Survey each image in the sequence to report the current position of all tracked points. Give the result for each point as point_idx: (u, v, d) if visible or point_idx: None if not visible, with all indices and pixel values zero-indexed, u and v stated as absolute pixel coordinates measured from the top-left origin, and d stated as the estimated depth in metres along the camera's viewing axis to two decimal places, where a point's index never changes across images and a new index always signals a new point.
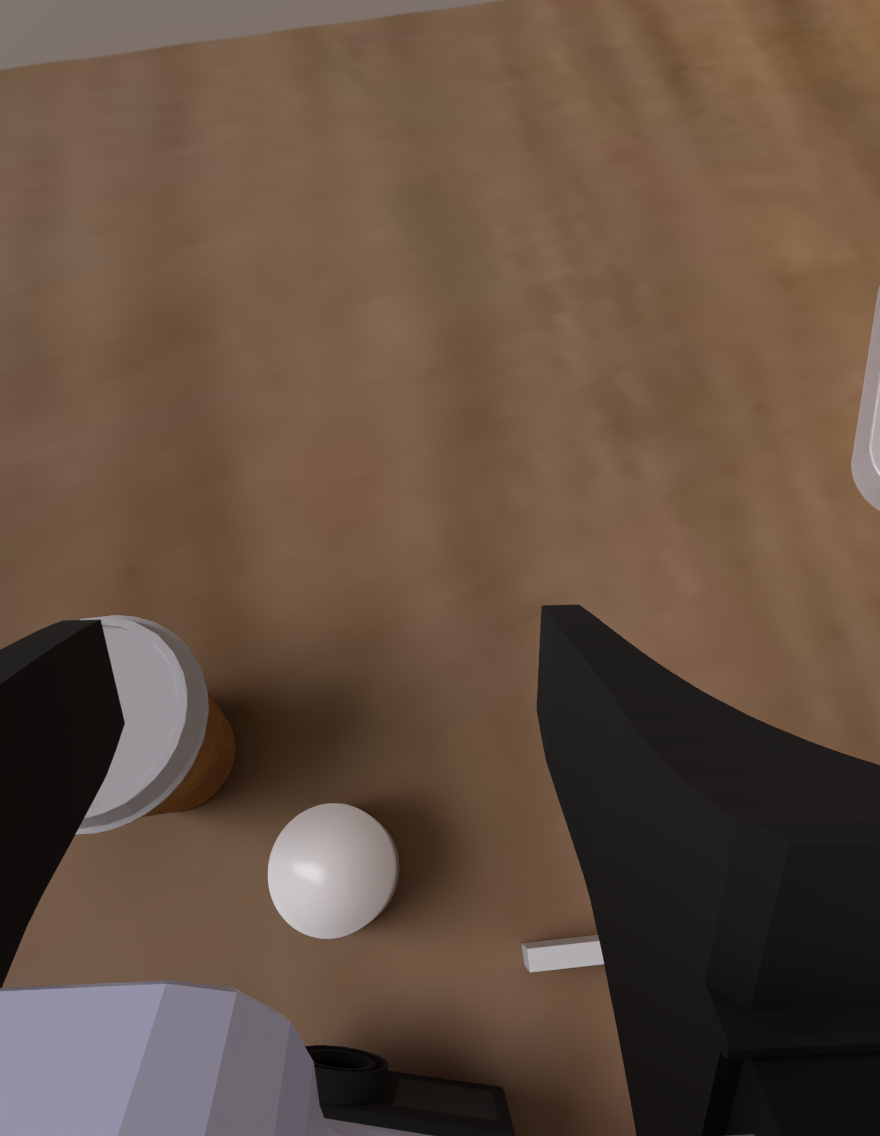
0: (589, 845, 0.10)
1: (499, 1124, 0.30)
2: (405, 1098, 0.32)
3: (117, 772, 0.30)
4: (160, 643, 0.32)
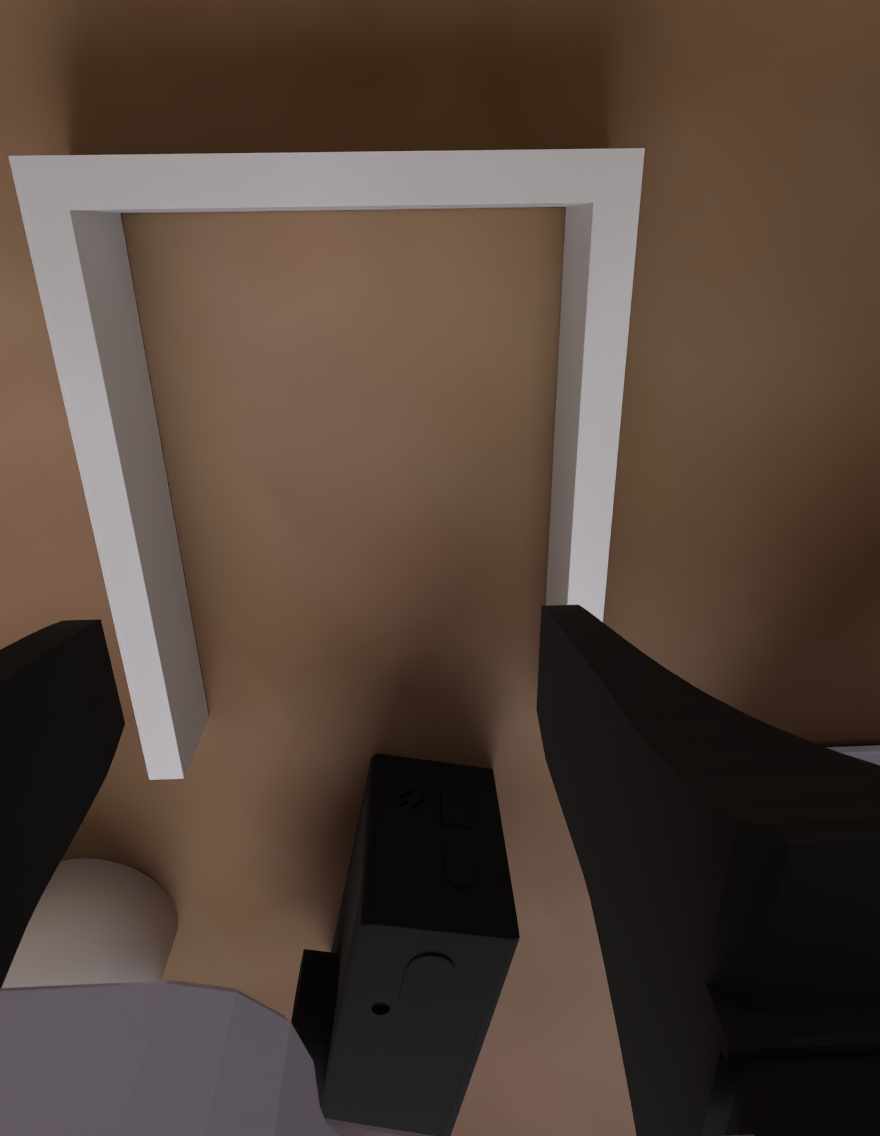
0: (589, 845, 0.10)
1: (359, 913, 0.20)
2: (342, 957, 0.23)
3: None
4: None
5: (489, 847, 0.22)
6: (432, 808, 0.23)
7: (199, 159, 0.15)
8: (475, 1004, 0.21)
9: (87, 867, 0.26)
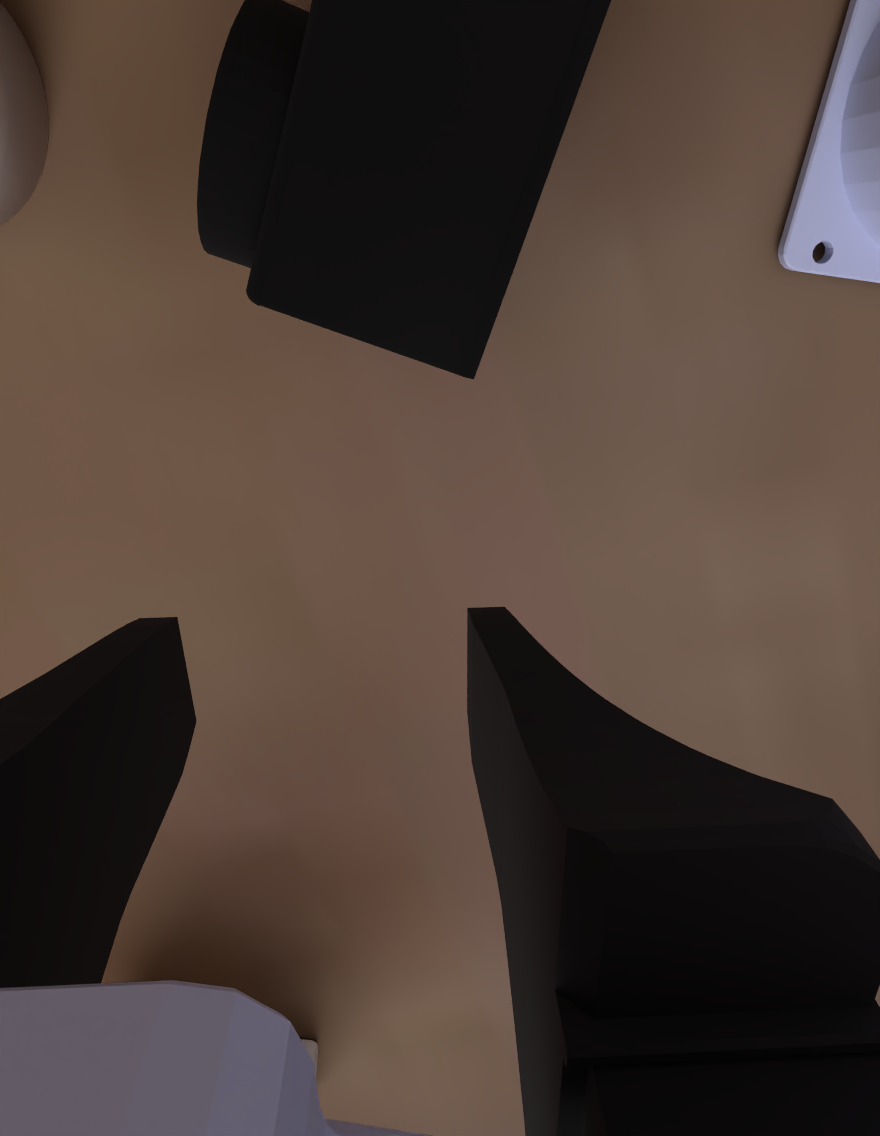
0: (499, 849, 0.10)
1: None
2: None
3: None
4: None
5: None
6: None
7: None
8: None
9: None
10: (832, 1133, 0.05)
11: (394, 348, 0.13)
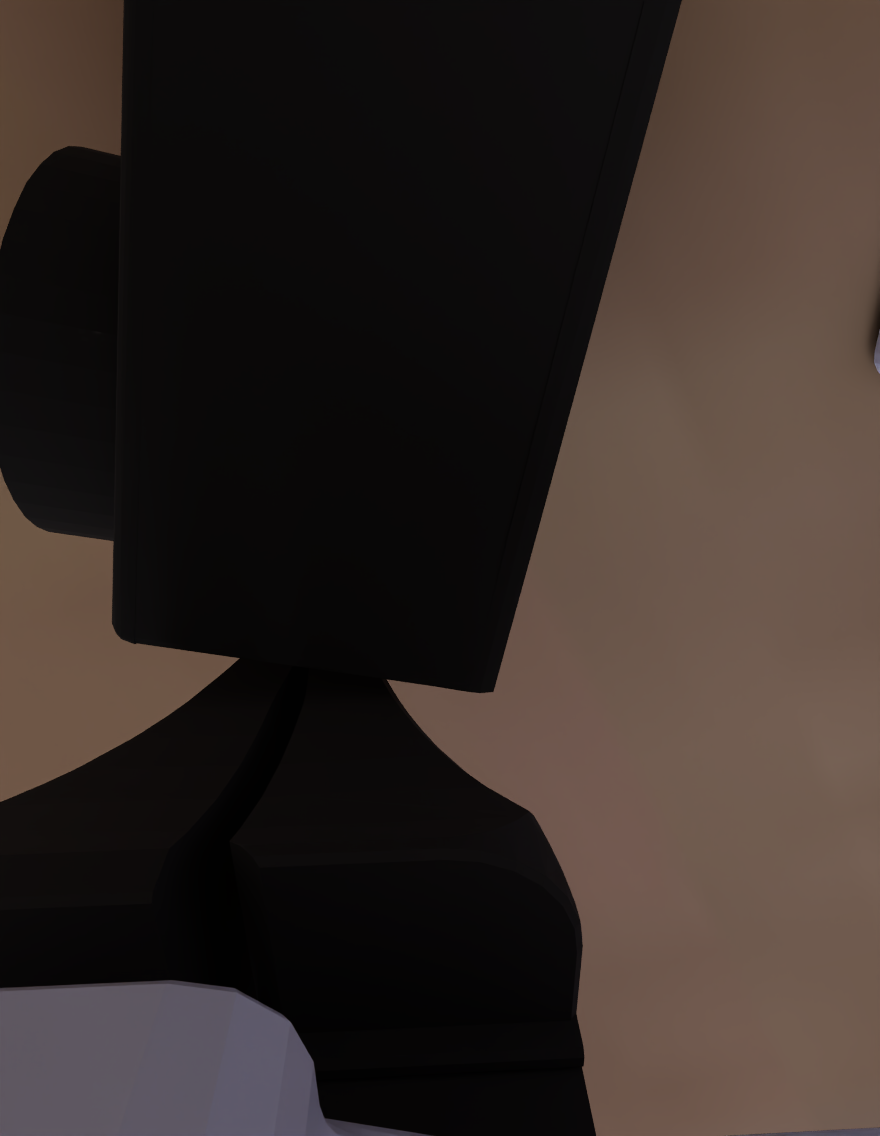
0: None
1: None
2: None
3: None
4: None
5: None
6: None
7: None
8: None
9: None
10: None
11: (360, 671, 0.08)
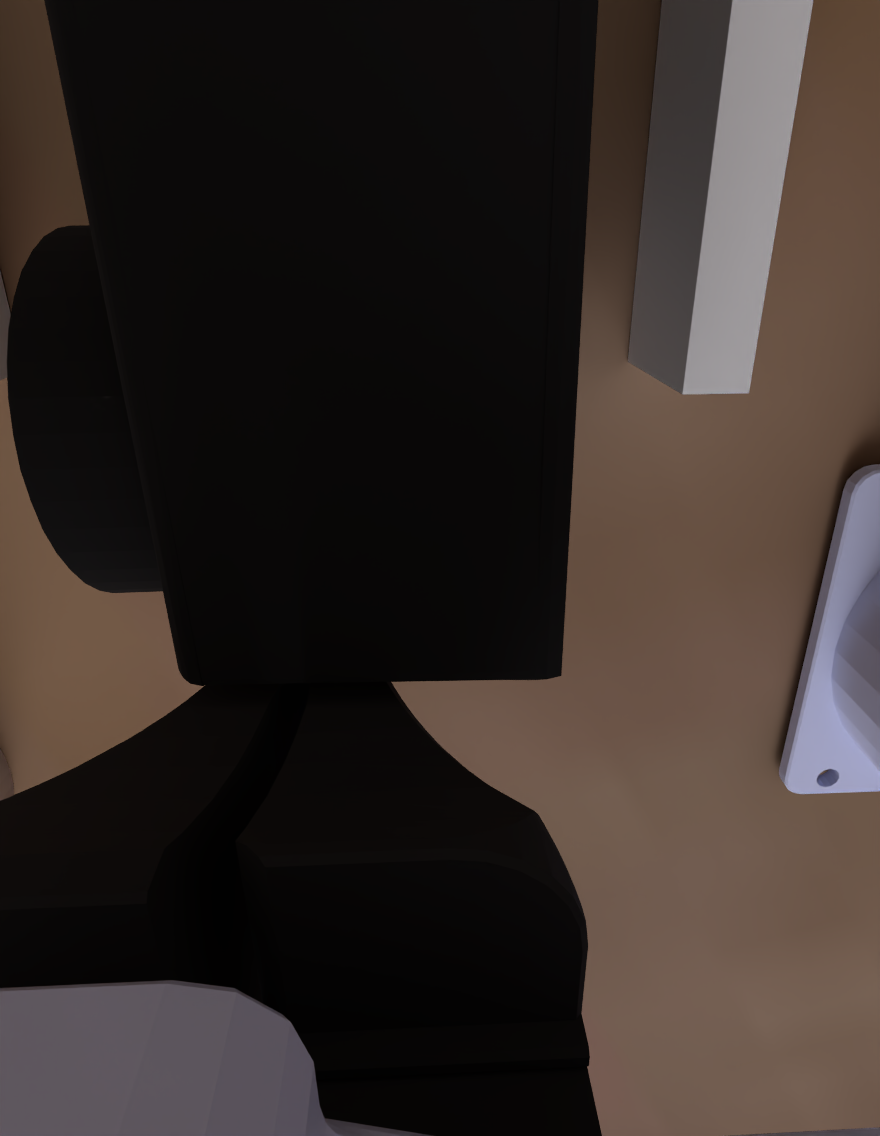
0: None
1: None
2: None
3: None
4: None
5: None
6: None
7: None
8: None
9: None
10: None
11: (422, 676, 0.08)
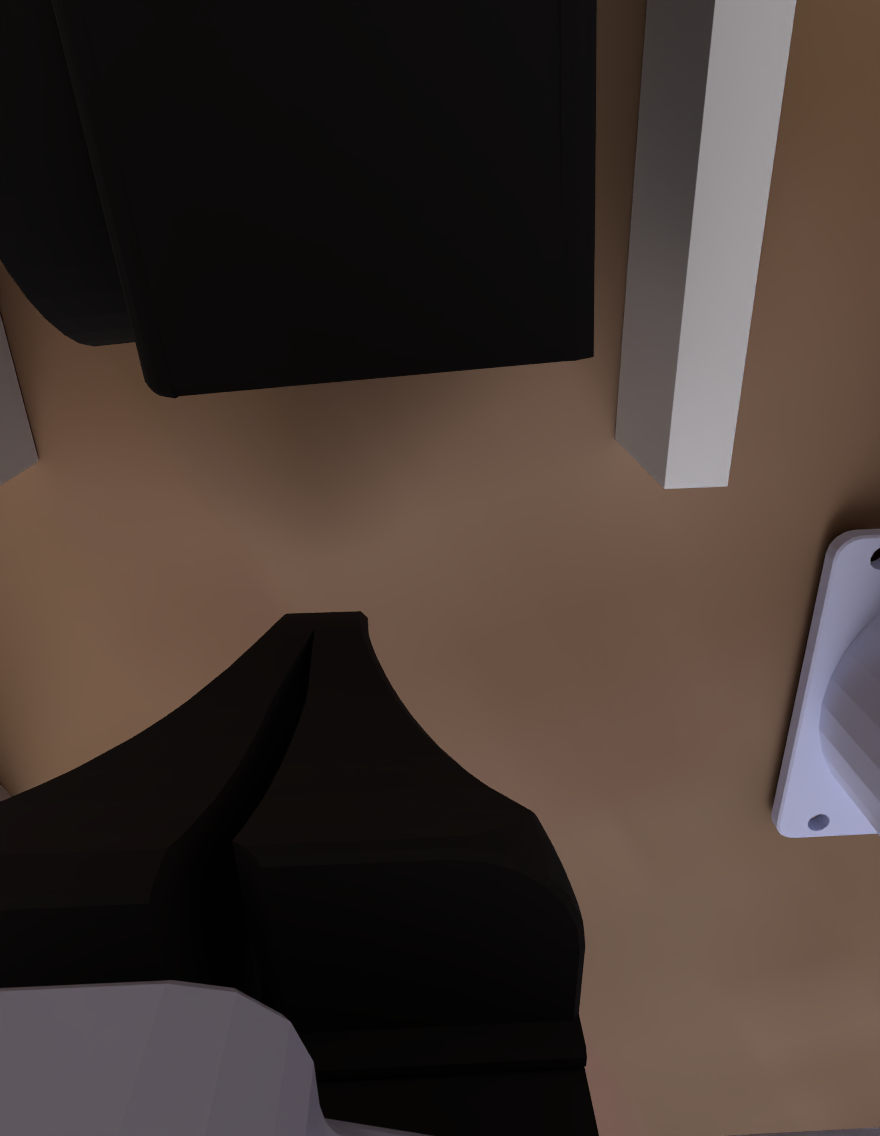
0: None
1: None
2: None
3: None
4: None
5: None
6: None
7: None
8: None
9: None
10: None
11: (432, 366, 0.07)
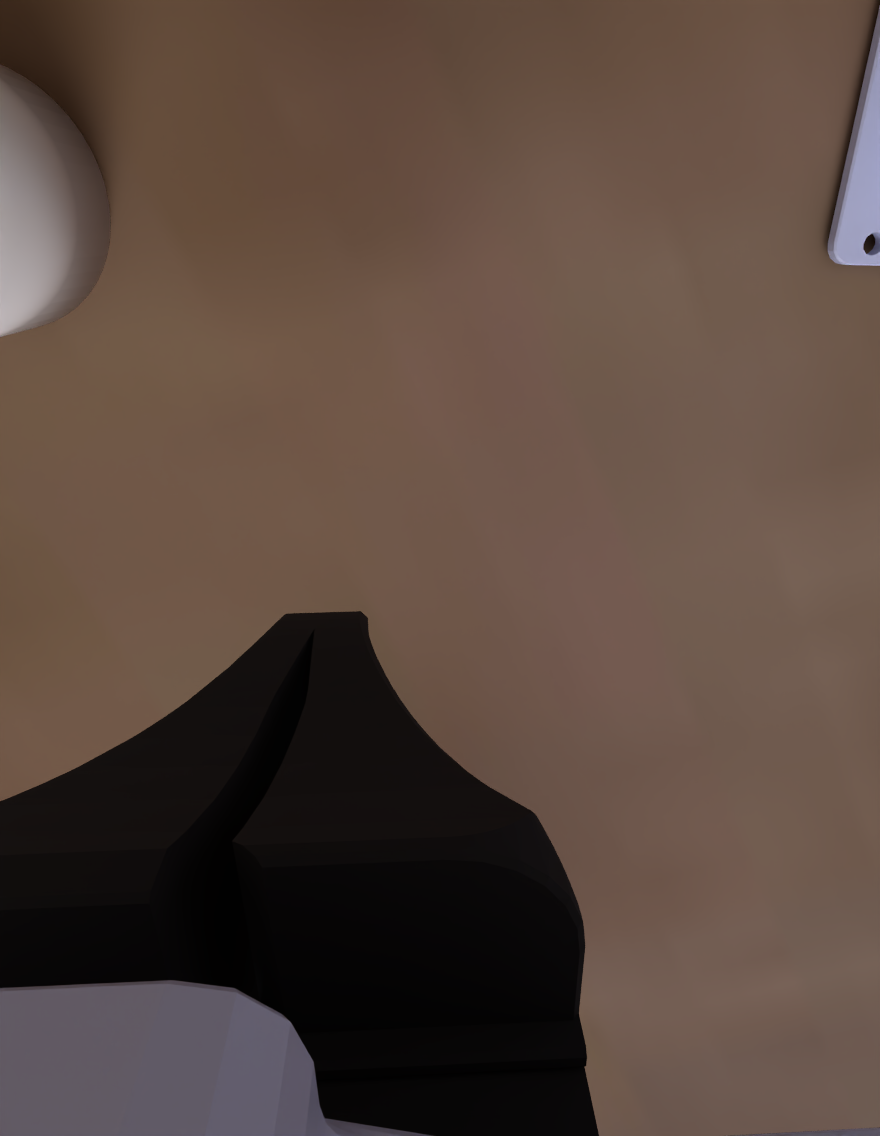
0: None
1: None
2: None
3: None
4: None
5: None
6: None
7: None
8: None
9: None
10: None
11: None
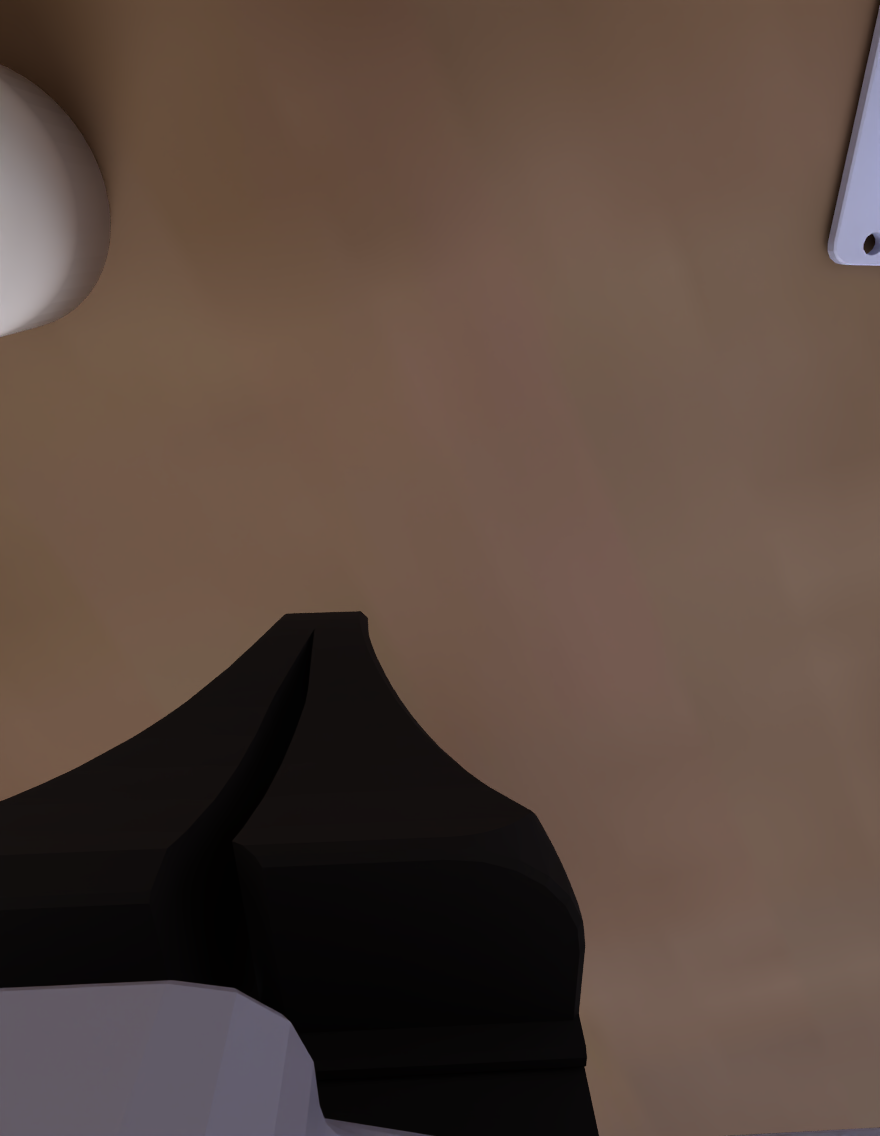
0: None
1: None
2: None
3: None
4: None
5: None
6: None
7: None
8: None
9: None
10: None
11: None
